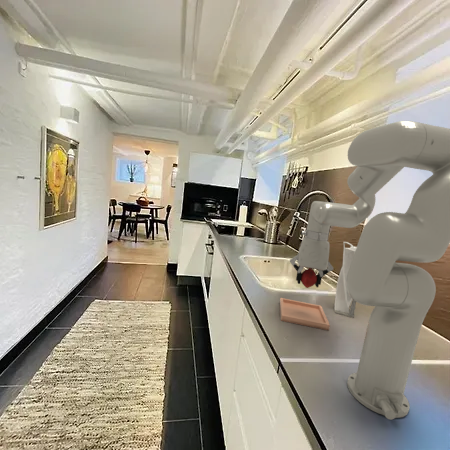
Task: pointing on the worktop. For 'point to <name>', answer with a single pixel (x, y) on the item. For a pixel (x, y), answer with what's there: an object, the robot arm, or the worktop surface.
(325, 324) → the dish
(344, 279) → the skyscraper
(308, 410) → the worktop surface
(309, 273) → the red round fruit
